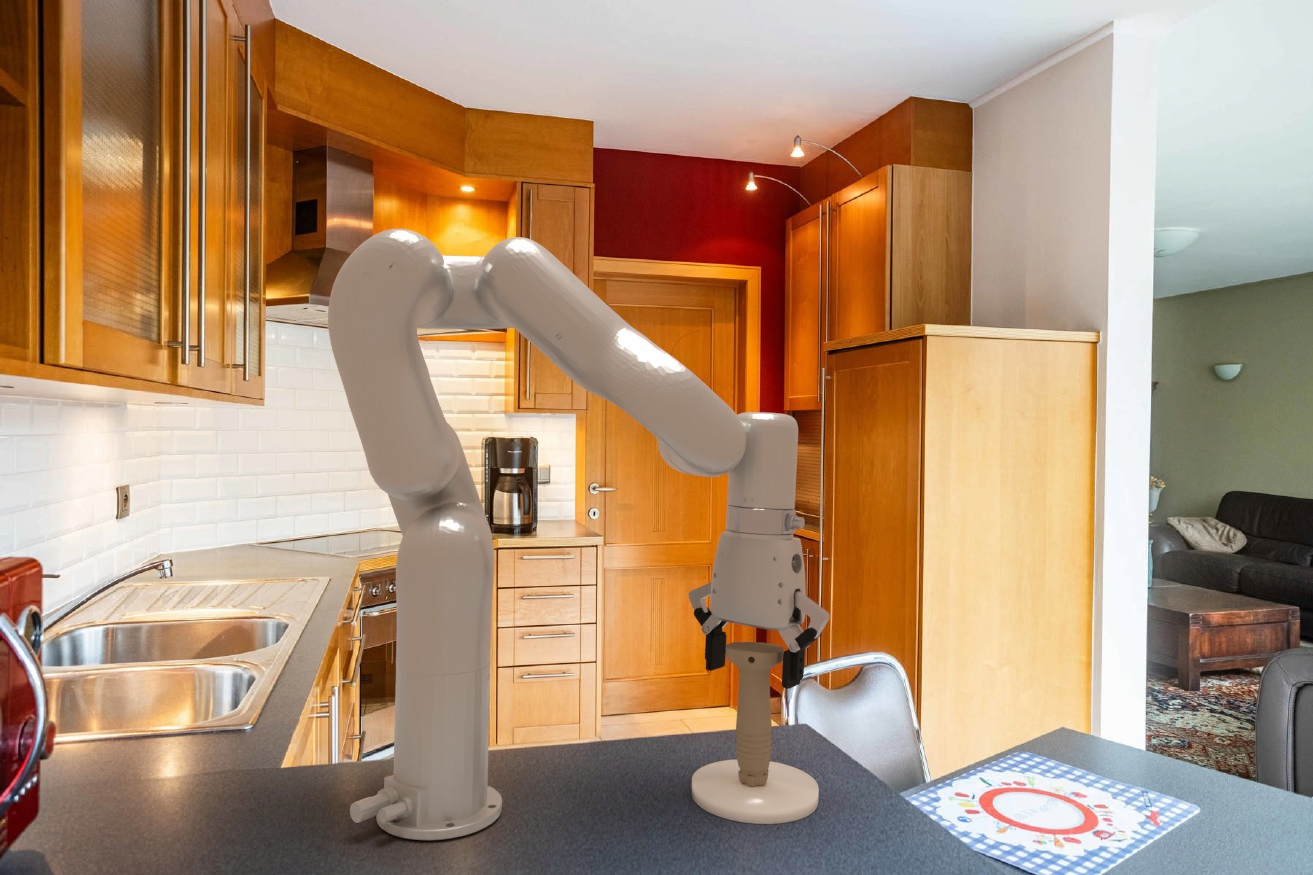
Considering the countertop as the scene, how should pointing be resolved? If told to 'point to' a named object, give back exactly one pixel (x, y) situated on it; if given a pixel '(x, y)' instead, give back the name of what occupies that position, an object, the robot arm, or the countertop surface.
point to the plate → (755, 793)
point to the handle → (754, 707)
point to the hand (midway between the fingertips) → (752, 676)
